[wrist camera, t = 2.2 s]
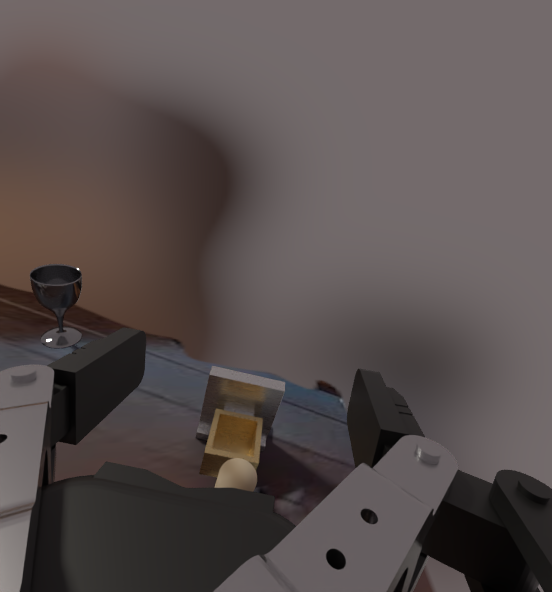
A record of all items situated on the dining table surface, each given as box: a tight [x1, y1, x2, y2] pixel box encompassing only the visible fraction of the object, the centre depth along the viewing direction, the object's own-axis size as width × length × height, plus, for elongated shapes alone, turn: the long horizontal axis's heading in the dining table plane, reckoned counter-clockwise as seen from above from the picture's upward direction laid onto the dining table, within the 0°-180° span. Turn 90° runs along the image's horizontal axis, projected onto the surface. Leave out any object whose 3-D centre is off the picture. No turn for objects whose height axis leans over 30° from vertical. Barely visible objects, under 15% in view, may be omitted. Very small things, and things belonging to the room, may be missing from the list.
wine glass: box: [30, 264, 82, 348], centre depth 62 cm, size 8×8×15 cm
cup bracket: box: [196, 366, 285, 477], centre depth 51 cm, size 14×12×14 cm
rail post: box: [215, 458, 257, 492], centre depth 36 cm, size 4×4×18 cm
